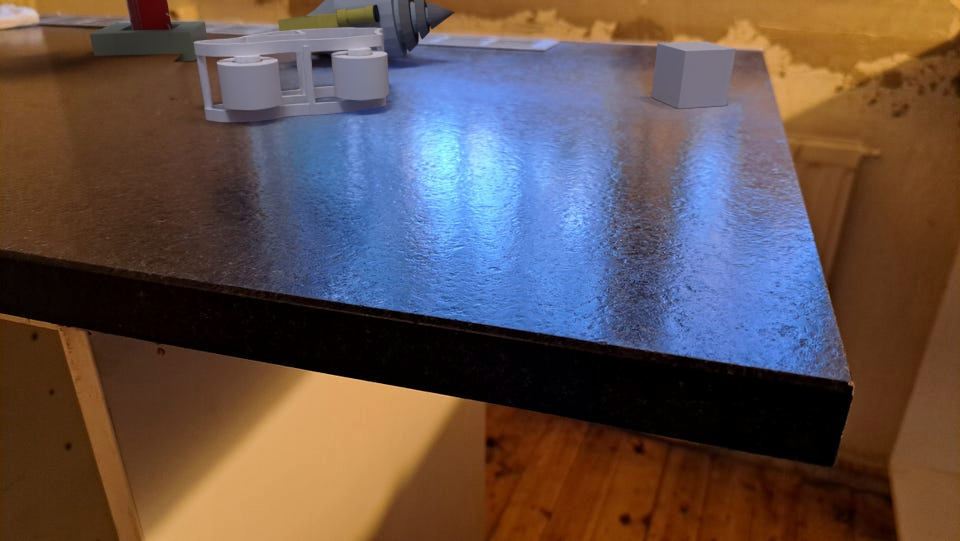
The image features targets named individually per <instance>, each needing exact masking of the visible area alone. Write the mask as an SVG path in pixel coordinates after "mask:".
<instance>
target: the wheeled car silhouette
mask: <svg viewBox="0 0 960 541" xmlns="http://www.w3.org/2000/svg"><path fill="white" fill-rule="evenodd" d="M193 43H194V49H195V55H196V57H197V60H196V64H197V68H198V74H199V75H198V76H199V80H200V88H201V93H202V100H203V106H204V109H203V110H204V115H205V116H204V117H205V120H206V121H209V122H210V121H211V122H216V123H248V122H260V121H261V122H262V121H269V120H275V119H281V118H287V117H299V116H300V117H301V116H315V115H316V116H317V115H318V116H319V115H330V114H331V115H332V114H341V113H342V114H343V113H352V112H357V111H363V110H369V109H375V108H382V107H385V106H387V97H388V96H389V95H390V80H389V78H390V77H389V64H388V58H387V53H386V52H384V35H383V29H382V28H323V29H303V30H290V31H280V30H275V31H269V32H263V33H255V34H248V35H243V36H239V37H230V38H218V39H217V38H215V39H208V40H202V41H196V42H193ZM376 46H377V51H376V50H371V48H369V47H376ZM334 50H347V51H340V52H335V53H333V54H331V55H330V57H331V68H332V69H331V70H332V82H333V85H328V86H327V85H326V86H315V85H314V84H315V83H314V73H313V62H312V53H311V52H314V51H334ZM285 53H286V54H288V53H295V61H296V62H295V64H296V70H297V71H296V72H297V81H298V88H296V89H288V90H282V86H281V85H282V84H281V74H280V67H279V59H277V58H276V57H271V56H264V55H273V54H285ZM262 55H263V56H262ZM207 57H211V58H212V57H213V58H214V57H215V58H219V57H220V58H223V59H219V60H217V61H216V68H217V75H218V82H219V88H220V95H221V101H222V103H217V104H214V102H213V96H212V91H211V84H210V83H211V82H210V78H209V72H208V71H209V70H208V64H207V59H206V58H207ZM225 57H227V58H225ZM228 57H230V58H228ZM322 98H338V99H341V100H336V101H334V100H333V101H322V102H316V99H322ZM342 99H343V100H342Z"/></svg>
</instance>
